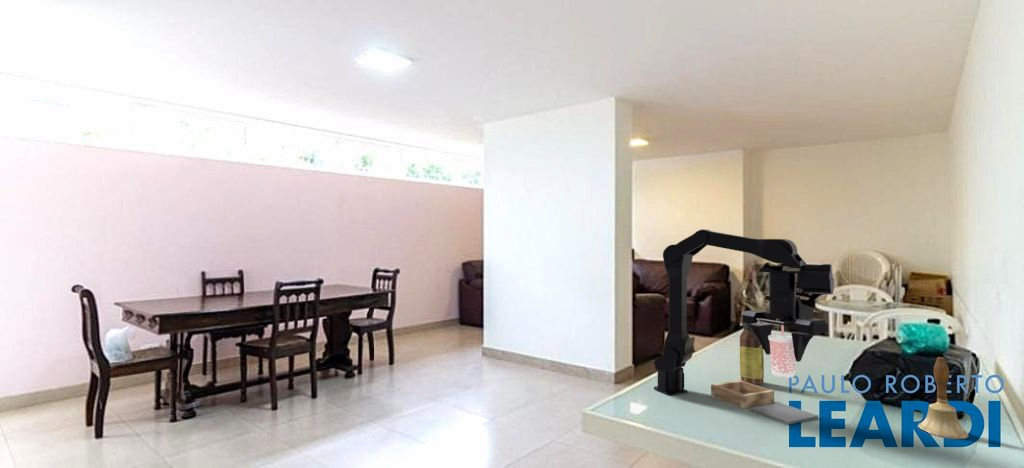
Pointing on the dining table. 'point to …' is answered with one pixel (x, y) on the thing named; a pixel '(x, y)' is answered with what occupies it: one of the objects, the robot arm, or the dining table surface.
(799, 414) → the coaster
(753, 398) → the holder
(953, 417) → the hand bell
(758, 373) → the sauce bottle
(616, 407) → the dining table surface
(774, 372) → the beverage cup
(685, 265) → the robot arm
